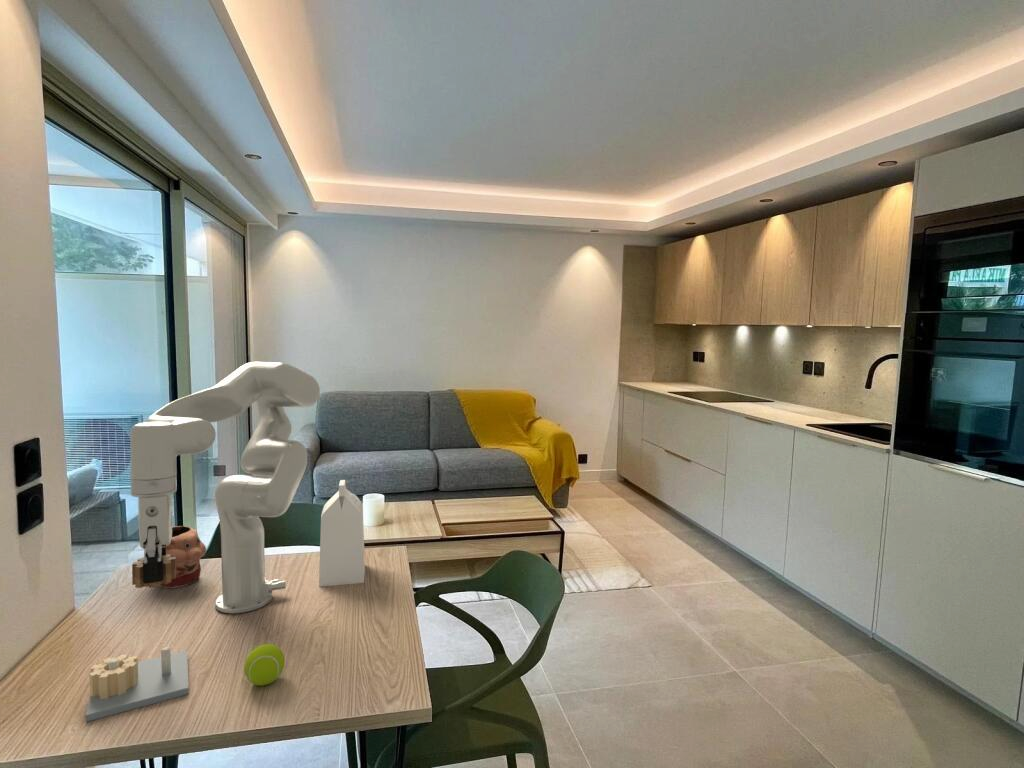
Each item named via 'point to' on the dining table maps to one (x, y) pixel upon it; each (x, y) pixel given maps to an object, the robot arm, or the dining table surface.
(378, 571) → the dining table surface
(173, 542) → the decorative planter
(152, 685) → the gear board
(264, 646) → the tennis ball
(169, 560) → the walnut gear
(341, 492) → the milk
